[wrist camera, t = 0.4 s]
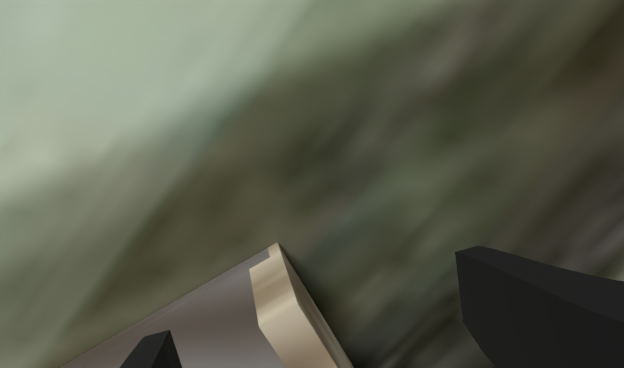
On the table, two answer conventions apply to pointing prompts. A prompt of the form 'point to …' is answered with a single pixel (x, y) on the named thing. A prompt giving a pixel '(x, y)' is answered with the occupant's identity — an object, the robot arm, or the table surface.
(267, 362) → the cleat board
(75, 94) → the table surface
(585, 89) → the table surface
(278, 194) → the table surface
